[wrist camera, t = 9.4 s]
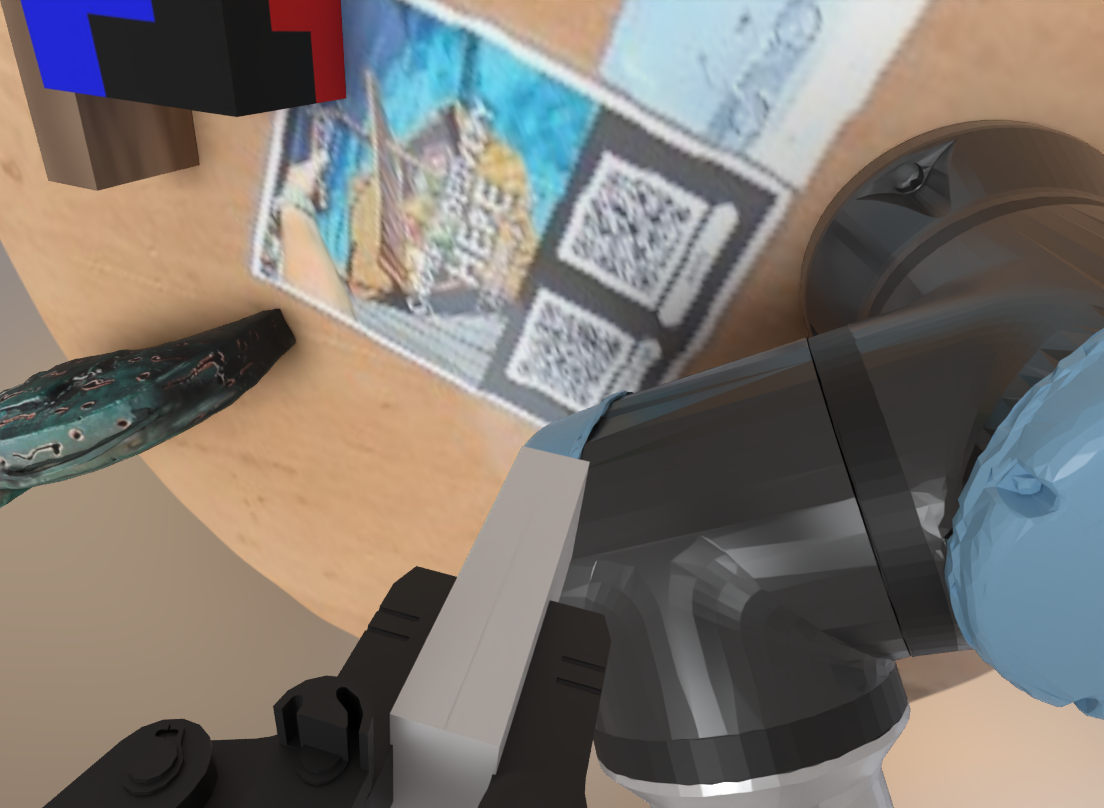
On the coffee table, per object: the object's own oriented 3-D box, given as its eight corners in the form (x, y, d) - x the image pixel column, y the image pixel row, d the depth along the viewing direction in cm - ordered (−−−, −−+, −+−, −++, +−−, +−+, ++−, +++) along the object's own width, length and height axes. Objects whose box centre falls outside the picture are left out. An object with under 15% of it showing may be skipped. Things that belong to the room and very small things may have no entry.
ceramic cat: (126, 410, 54) (-147, 583, 37) (78, 340, 51) (-240, 492, 34) (317, 360, 47) (88, 544, 30) (272, 276, 44) (-5, 426, 28)
